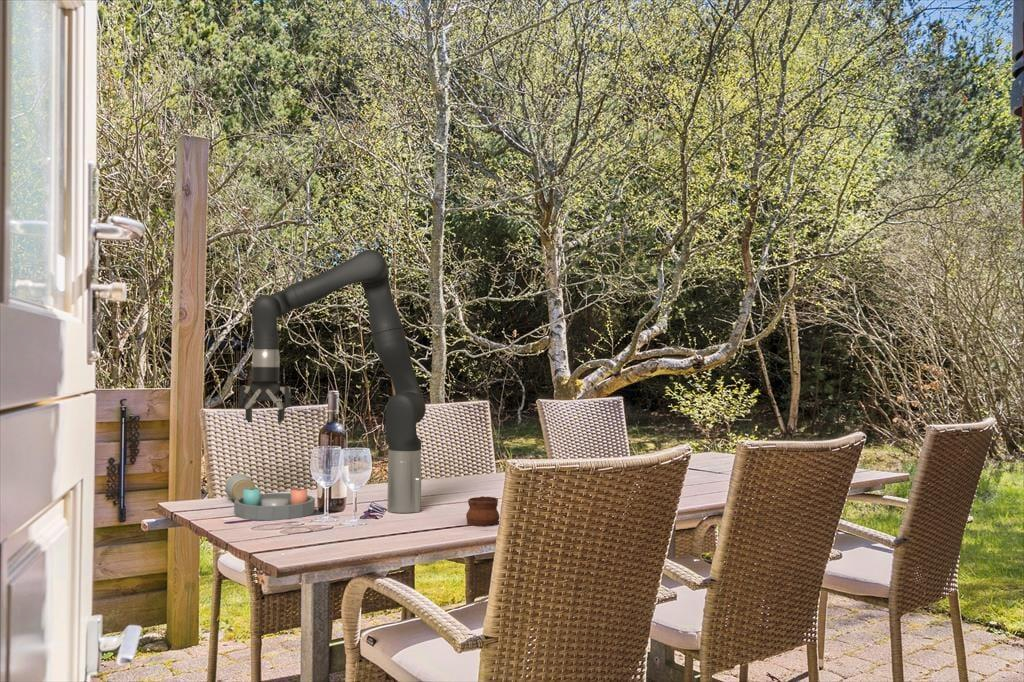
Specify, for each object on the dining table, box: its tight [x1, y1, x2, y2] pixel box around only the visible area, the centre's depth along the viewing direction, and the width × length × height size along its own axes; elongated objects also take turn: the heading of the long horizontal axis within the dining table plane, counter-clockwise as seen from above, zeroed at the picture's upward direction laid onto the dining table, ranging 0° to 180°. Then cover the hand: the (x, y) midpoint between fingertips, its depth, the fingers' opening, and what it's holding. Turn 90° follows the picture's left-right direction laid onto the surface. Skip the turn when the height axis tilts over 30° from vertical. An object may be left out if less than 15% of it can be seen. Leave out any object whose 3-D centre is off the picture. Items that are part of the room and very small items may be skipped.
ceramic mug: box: [224, 473, 262, 501], centre depth 255 cm, size 11×8×8 cm
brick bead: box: [290, 488, 308, 505], centre depth 238 cm, size 4×4×5 cm
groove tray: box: [233, 492, 316, 521], centre depth 238 cm, size 21×21×4 cm
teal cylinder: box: [243, 487, 261, 506], centre depth 238 cm, size 4×4×5 cm
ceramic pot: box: [465, 495, 500, 532], centre depth 229 cm, size 18×18×7 cm
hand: (264, 422), depth 245 cm, fingers open, 8 cm apart
